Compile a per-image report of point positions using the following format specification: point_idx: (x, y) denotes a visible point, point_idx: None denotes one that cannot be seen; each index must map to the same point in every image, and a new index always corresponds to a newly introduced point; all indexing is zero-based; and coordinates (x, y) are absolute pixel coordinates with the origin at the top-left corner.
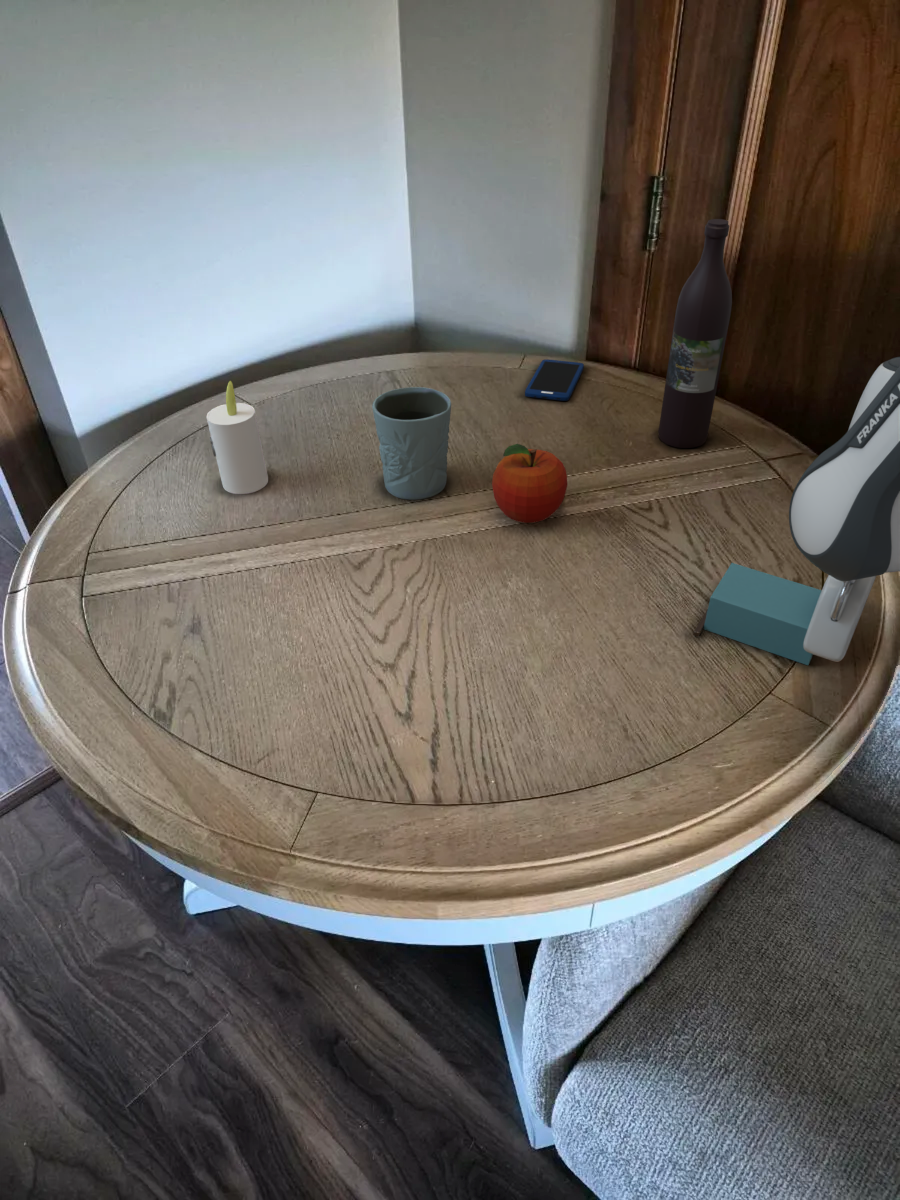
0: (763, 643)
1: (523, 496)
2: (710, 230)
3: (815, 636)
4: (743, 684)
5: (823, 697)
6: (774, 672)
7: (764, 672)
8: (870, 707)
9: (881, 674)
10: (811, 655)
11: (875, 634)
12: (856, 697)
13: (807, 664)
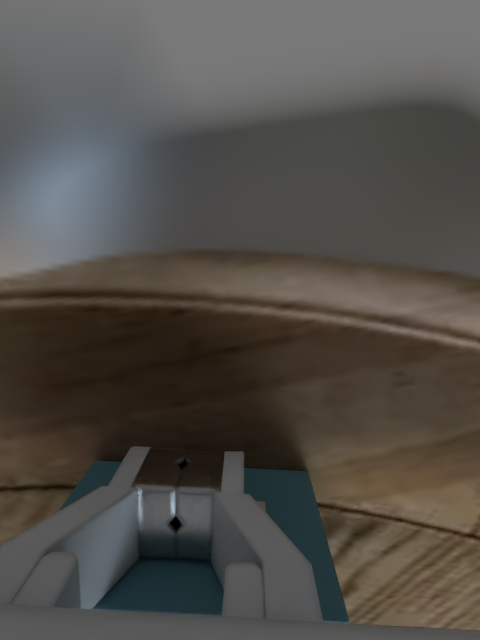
0: None
1: None
2: None
3: None
4: (463, 596)
5: (433, 407)
6: (378, 541)
7: (390, 562)
8: (424, 271)
9: (240, 263)
10: (315, 502)
11: (37, 312)
12: (393, 319)
13: (308, 475)
